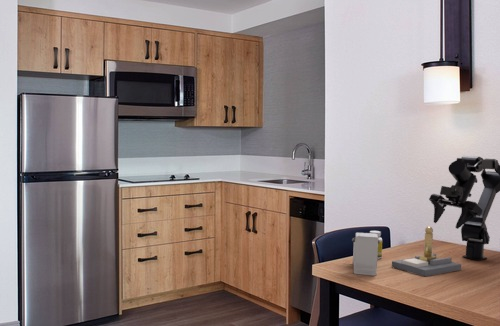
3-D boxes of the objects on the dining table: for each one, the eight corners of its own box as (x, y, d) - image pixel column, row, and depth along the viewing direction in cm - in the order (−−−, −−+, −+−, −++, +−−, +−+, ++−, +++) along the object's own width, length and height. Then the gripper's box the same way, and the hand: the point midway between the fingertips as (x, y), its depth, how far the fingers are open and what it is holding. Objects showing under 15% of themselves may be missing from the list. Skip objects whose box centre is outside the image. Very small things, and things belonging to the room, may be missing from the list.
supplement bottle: (383, 257, 204) (384, 231, 203) (380, 260, 199) (381, 233, 198) (368, 255, 206) (369, 229, 206) (365, 258, 201) (366, 231, 201)
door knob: (428, 260, 191) (430, 225, 191) (436, 262, 189) (437, 226, 188) (419, 261, 188) (420, 226, 188) (426, 263, 186) (428, 227, 185)
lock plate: (427, 261, 199) (428, 251, 199) (460, 269, 188) (461, 259, 188) (391, 266, 189) (392, 256, 189) (424, 276, 177) (425, 265, 177)
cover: (413, 261, 189) (413, 258, 189) (428, 265, 184) (428, 261, 184) (402, 263, 186) (402, 260, 186) (416, 267, 181) (416, 263, 181)
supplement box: (376, 276, 176) (378, 237, 175) (353, 274, 177) (355, 235, 177) (376, 270, 183) (377, 233, 183) (353, 268, 185) (355, 231, 184)
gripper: (430, 172, 200) (412, 210, 197) (475, 180, 184) (456, 220, 181) (445, 187, 206) (428, 223, 203) (490, 195, 190) (472, 235, 187)
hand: (445, 225), depth 193 cm, fingers open, 9 cm apart
